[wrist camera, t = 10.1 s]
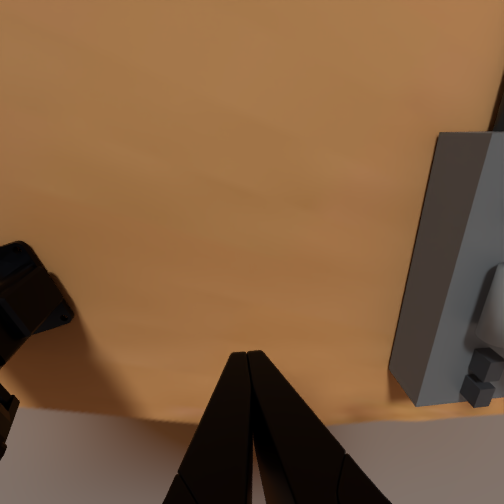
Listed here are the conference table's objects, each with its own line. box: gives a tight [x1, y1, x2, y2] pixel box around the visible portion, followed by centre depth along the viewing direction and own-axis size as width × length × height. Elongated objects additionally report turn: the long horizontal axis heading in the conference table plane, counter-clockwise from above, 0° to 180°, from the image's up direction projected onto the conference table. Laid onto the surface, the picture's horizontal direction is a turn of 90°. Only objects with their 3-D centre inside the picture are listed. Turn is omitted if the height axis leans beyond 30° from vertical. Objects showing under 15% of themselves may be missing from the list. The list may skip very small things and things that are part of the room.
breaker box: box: [389, 92, 504, 408], centre depth 19 cm, size 8×28×5 cm, turn 1°
